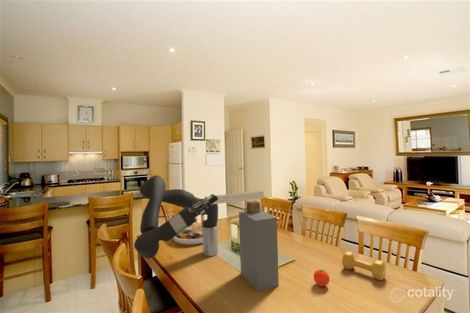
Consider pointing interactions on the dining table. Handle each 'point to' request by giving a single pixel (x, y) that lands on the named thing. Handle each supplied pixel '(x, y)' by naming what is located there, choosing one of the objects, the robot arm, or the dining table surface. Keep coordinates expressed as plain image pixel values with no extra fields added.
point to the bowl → (190, 236)
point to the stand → (259, 249)
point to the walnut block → (253, 206)
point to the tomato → (321, 277)
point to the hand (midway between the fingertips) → (215, 196)
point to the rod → (237, 197)
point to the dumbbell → (364, 265)
